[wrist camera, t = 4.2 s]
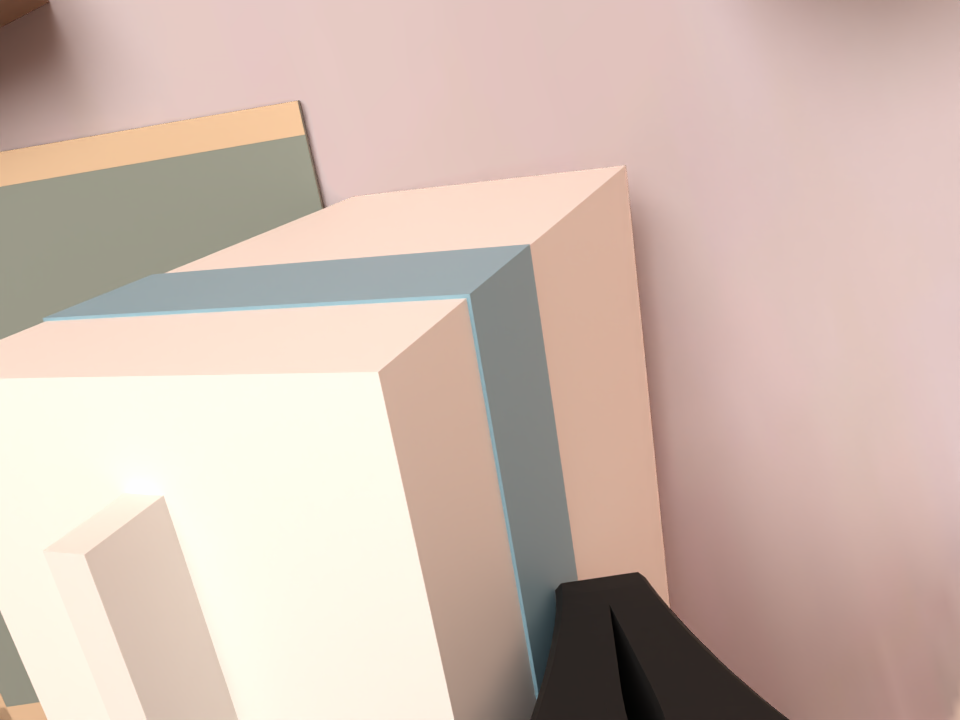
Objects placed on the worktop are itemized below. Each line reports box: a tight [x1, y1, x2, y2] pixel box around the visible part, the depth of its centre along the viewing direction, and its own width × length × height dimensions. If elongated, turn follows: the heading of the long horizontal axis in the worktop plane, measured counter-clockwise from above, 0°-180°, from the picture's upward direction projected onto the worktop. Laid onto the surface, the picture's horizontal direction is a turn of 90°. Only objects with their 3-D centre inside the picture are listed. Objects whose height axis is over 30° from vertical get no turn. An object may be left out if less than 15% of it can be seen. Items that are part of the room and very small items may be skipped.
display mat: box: [0, 101, 324, 720], centre depth 23 cm, size 17×14×1 cm
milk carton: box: [0, 165, 670, 720], centre depth 16 cm, size 12×7×13 cm, turn 9°
